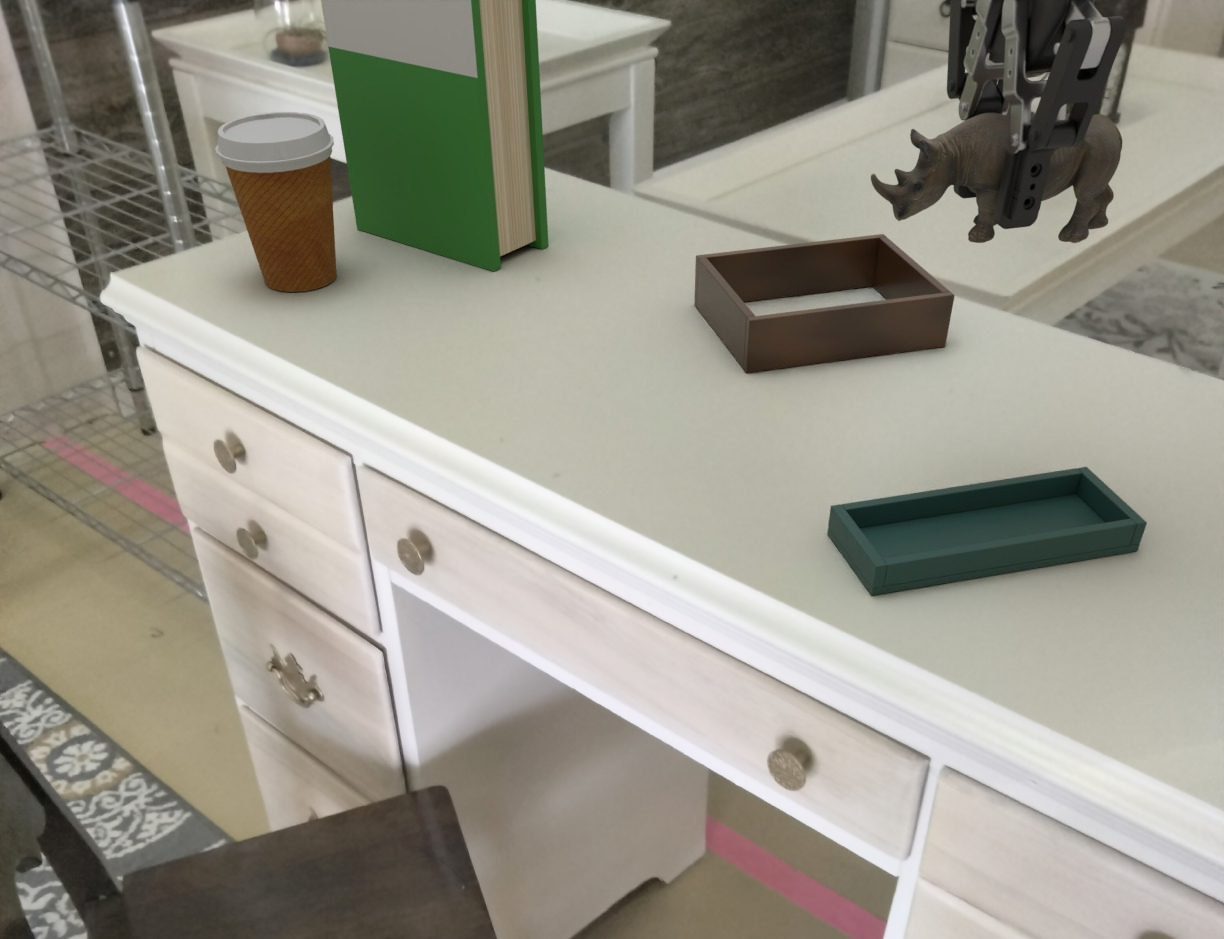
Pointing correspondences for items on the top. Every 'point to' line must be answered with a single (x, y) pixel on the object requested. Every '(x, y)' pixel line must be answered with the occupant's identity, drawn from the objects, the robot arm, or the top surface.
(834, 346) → the open box
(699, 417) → the top surface
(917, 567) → the tray
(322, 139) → the disposable coffee cup
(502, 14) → the hardback book
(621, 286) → the top surface
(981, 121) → the rhino figurine
